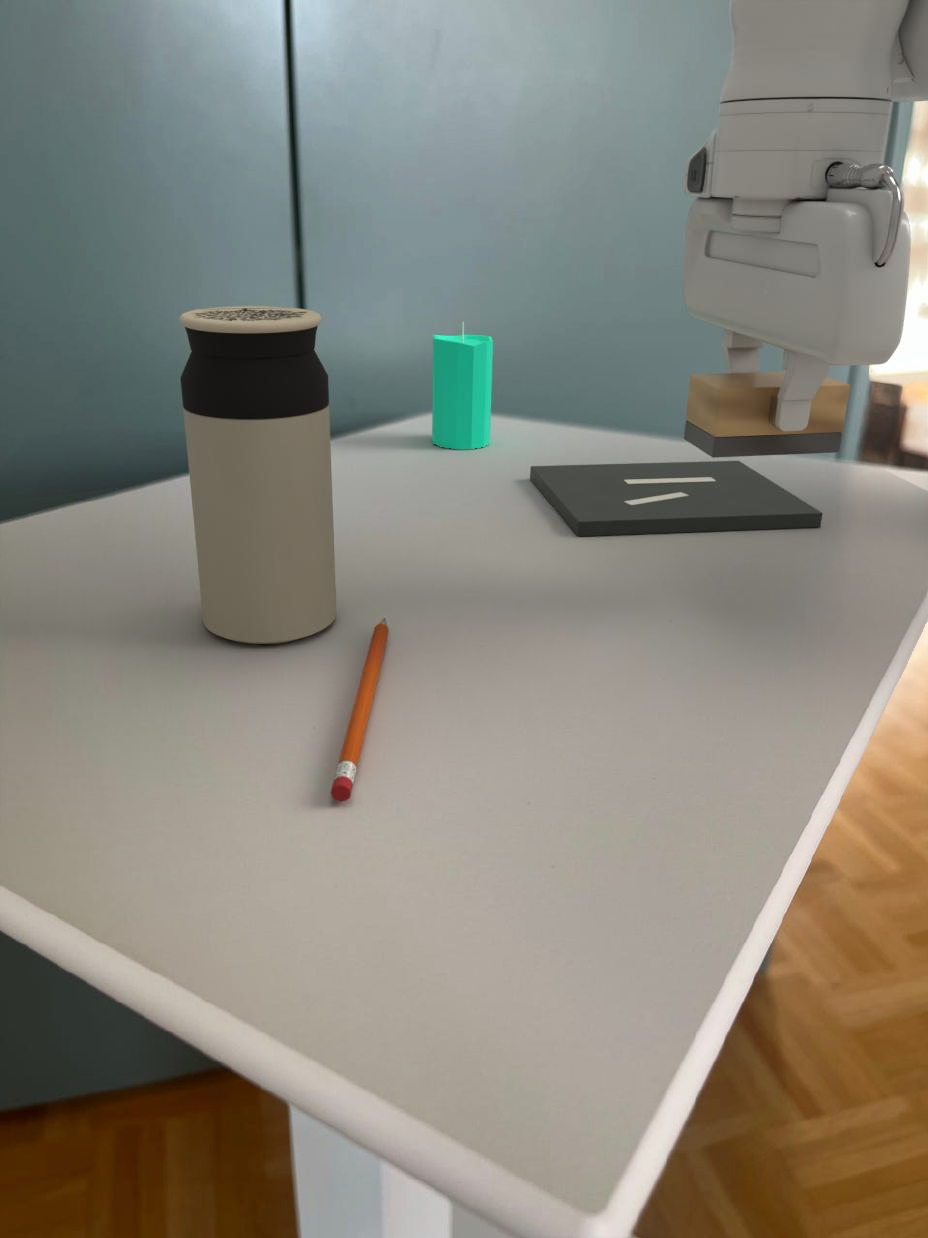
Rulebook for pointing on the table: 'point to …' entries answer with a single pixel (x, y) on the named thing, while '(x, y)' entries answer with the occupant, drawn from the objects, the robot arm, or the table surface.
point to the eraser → (759, 416)
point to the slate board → (669, 498)
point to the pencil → (360, 716)
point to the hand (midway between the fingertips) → (763, 417)
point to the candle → (462, 390)
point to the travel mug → (260, 472)
